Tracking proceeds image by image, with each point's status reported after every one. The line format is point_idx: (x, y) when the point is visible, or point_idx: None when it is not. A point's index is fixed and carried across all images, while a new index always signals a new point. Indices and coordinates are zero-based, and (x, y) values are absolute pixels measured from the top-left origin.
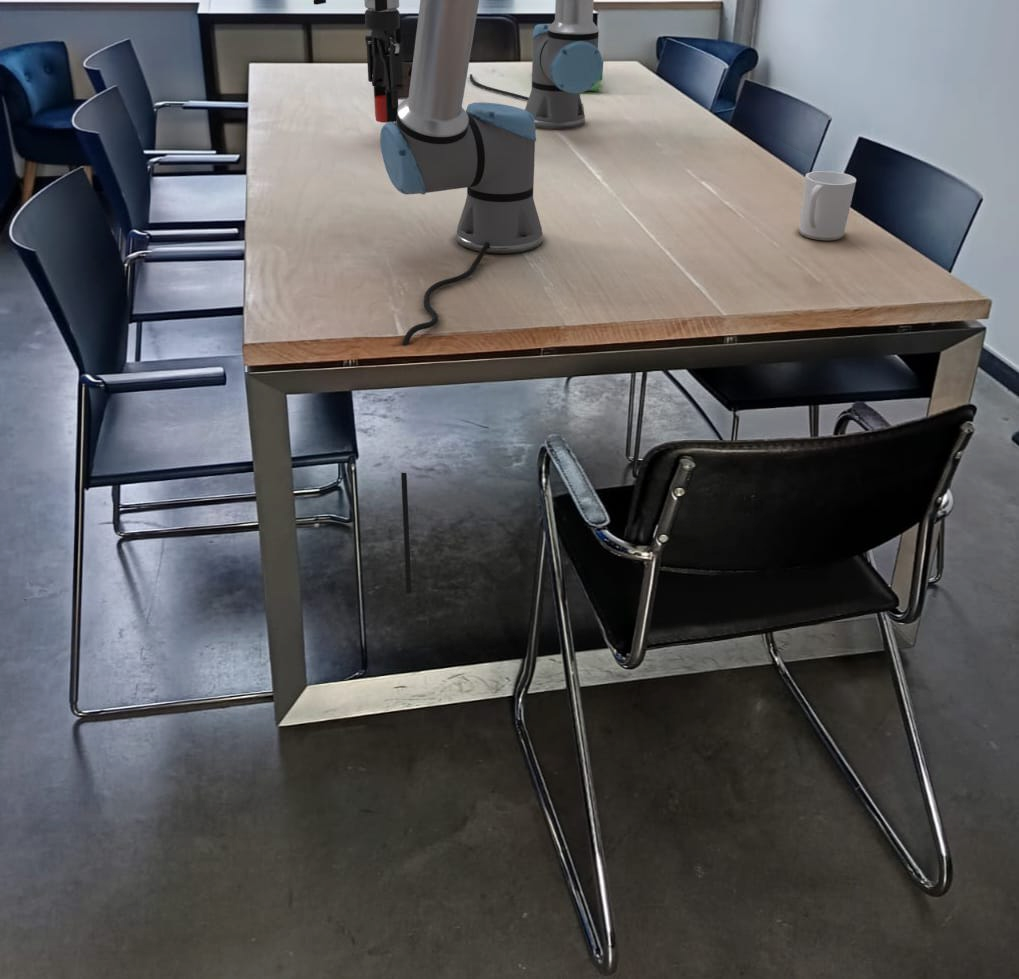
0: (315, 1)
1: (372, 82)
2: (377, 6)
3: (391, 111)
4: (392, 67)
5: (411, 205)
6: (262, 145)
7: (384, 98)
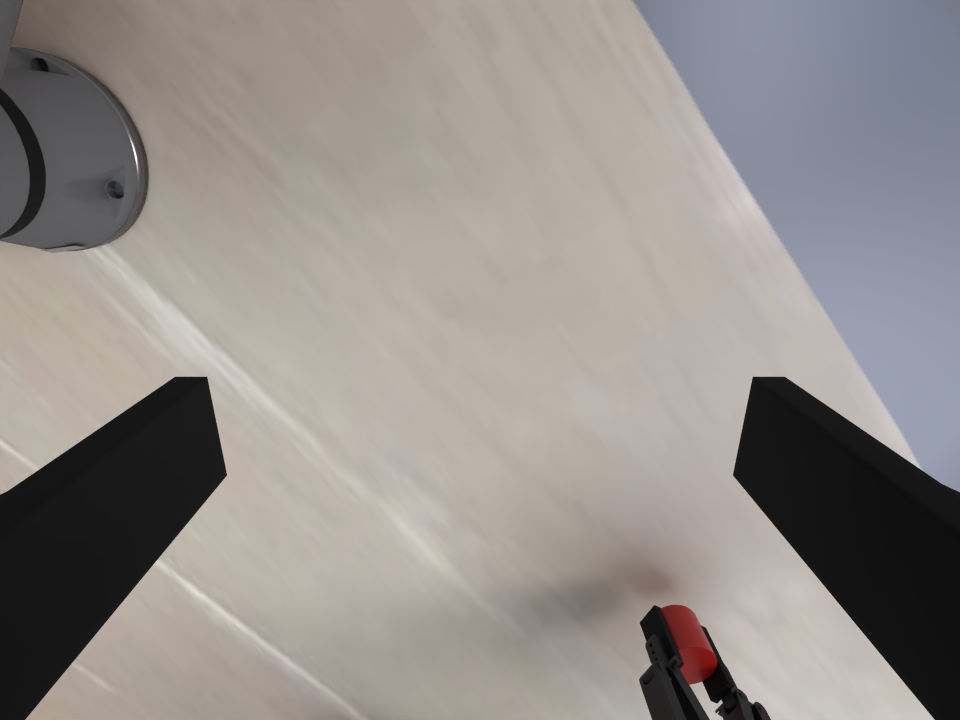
0: (777, 384)
1: (744, 697)
2: (163, 389)
3: (656, 629)
4: (673, 715)
5: (360, 263)
6: None
7: (688, 657)
